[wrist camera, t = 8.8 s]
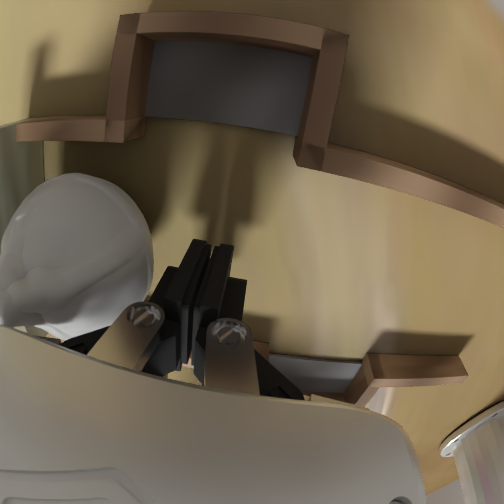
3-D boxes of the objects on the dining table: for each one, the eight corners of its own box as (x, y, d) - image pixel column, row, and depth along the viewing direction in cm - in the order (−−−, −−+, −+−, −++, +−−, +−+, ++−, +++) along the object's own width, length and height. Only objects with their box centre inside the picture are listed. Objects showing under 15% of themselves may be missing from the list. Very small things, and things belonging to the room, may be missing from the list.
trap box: (551, 158, 9) (597, 182, 6) (425, 395, 19) (439, 434, 15) (34, 43, 8) (-24, 43, 5) (66, 344, 18) (42, 384, 14)
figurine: (89, 292, 15) (18, 399, 8) (44, 177, 12) (-76, 255, 5) (192, 283, 14) (141, 431, 7) (152, 140, 11) (8, 216, 4)
